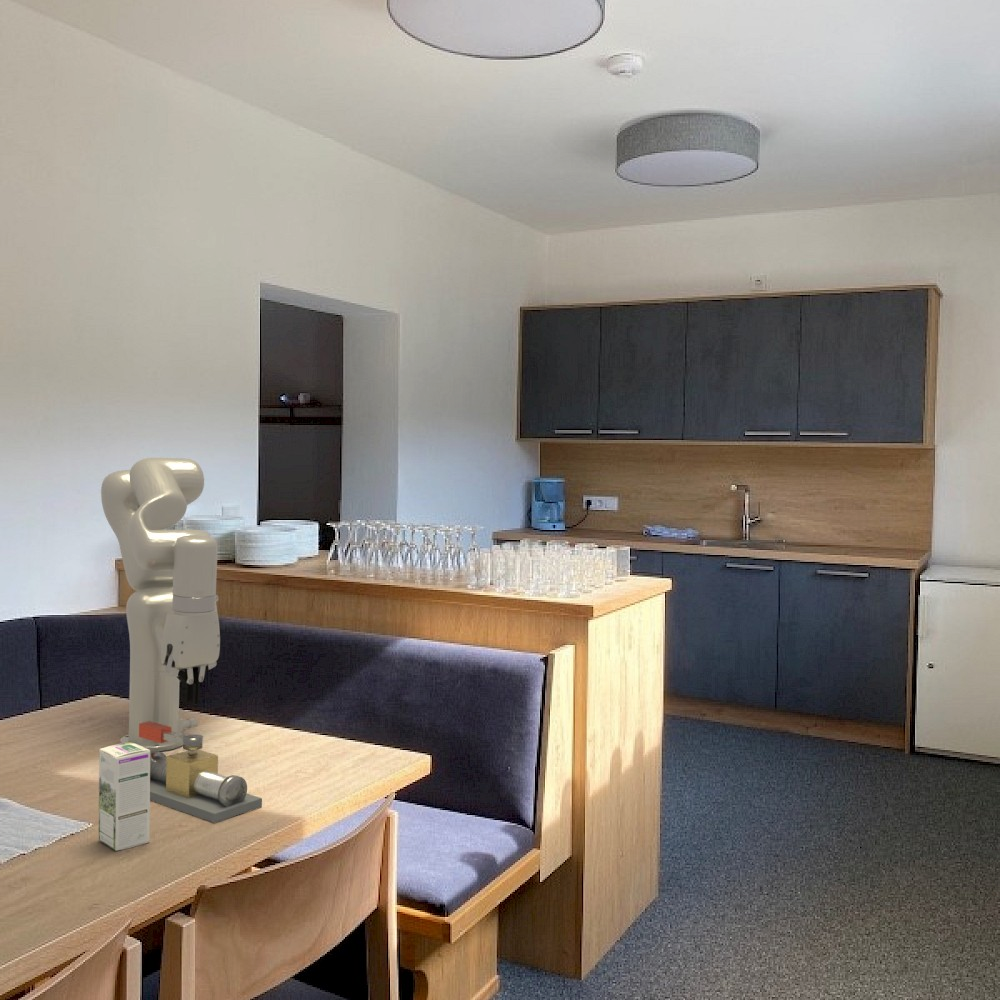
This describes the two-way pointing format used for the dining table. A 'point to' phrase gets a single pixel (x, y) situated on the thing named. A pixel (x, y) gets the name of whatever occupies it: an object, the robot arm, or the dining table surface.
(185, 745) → the valve lever
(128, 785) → the syrup box
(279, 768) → the dining table surface
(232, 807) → the slate board
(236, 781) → the valve pipe
